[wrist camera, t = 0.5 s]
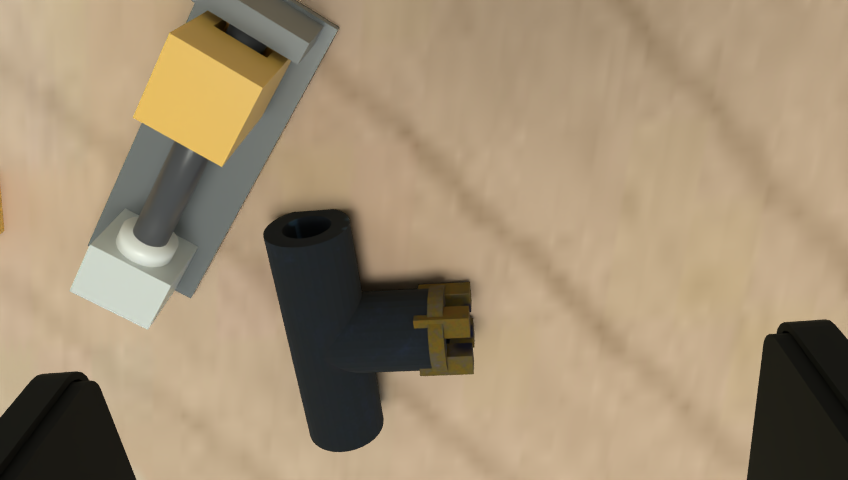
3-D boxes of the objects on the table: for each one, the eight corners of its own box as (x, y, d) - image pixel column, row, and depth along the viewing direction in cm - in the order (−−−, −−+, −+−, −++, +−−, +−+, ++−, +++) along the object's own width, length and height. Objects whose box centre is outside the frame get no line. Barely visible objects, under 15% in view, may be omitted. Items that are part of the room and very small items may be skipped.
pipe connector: (460, 239, 38) (479, 450, 45) (463, 197, 43) (480, 394, 50) (251, 251, 40) (301, 454, 46) (276, 209, 44) (318, 400, 51)
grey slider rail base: (219, -47, 37) (184, -34, 32) (339, 27, 38) (321, 51, 34) (92, 241, 45) (49, 284, 41) (193, 293, 47) (164, 340, 42)
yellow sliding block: (221, 2, 37) (169, 33, 30) (297, 49, 38) (262, 88, 31) (187, 74, 39) (132, 117, 32) (261, 117, 39) (222, 167, 33)
